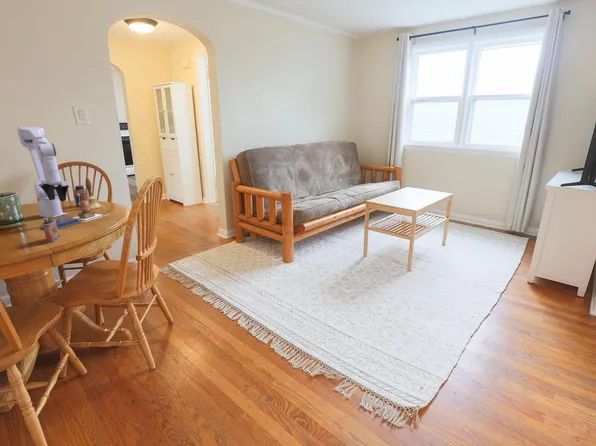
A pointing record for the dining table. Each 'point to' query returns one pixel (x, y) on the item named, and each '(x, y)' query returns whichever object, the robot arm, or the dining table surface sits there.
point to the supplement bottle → (80, 194)
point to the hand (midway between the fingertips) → (57, 200)
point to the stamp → (85, 210)
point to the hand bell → (92, 200)
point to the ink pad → (65, 222)
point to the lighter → (50, 229)
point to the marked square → (97, 215)
